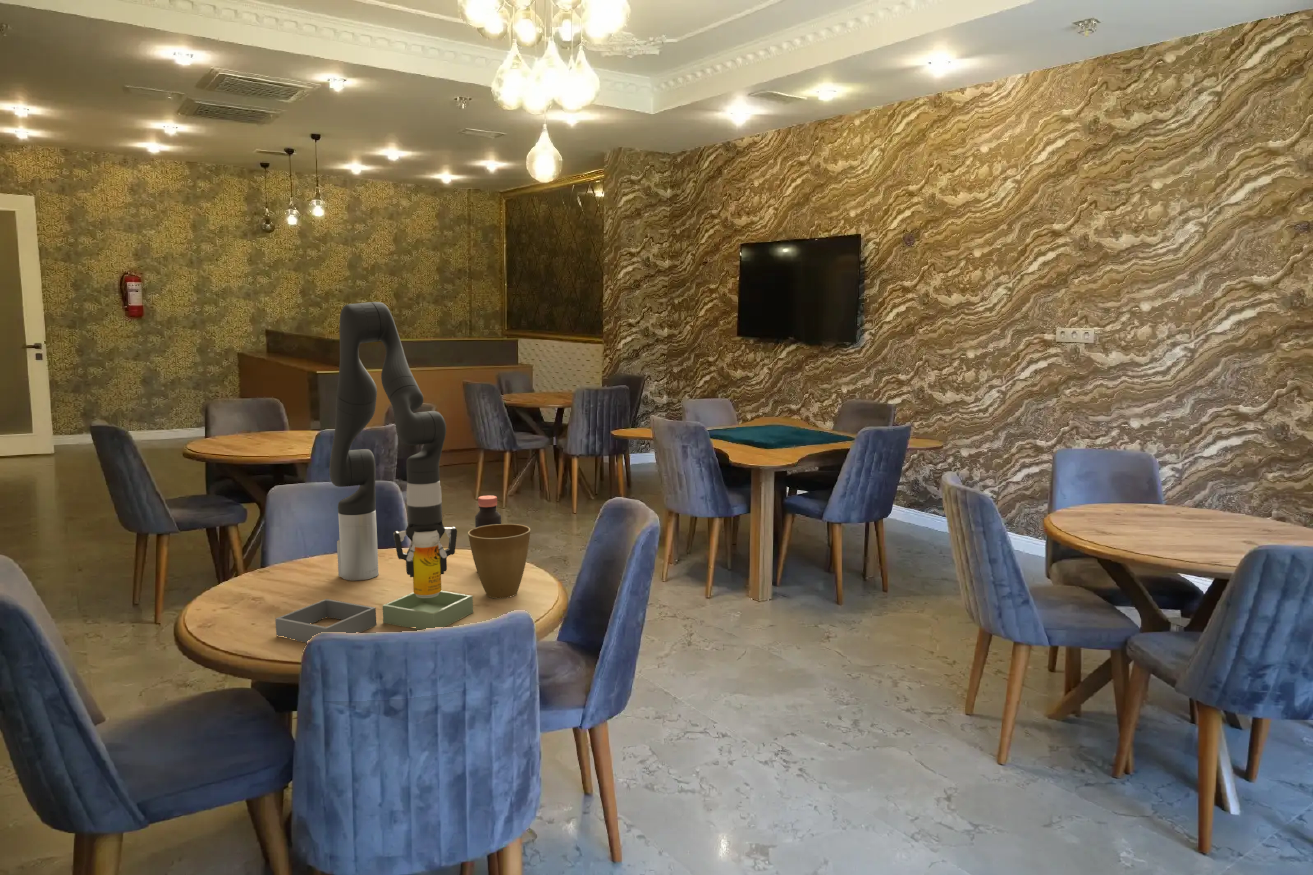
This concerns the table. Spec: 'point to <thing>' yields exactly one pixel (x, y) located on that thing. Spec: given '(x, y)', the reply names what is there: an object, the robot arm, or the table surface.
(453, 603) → the olive bin
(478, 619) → the table surface
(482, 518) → the bottle
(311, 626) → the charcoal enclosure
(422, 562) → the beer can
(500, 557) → the plant pot
